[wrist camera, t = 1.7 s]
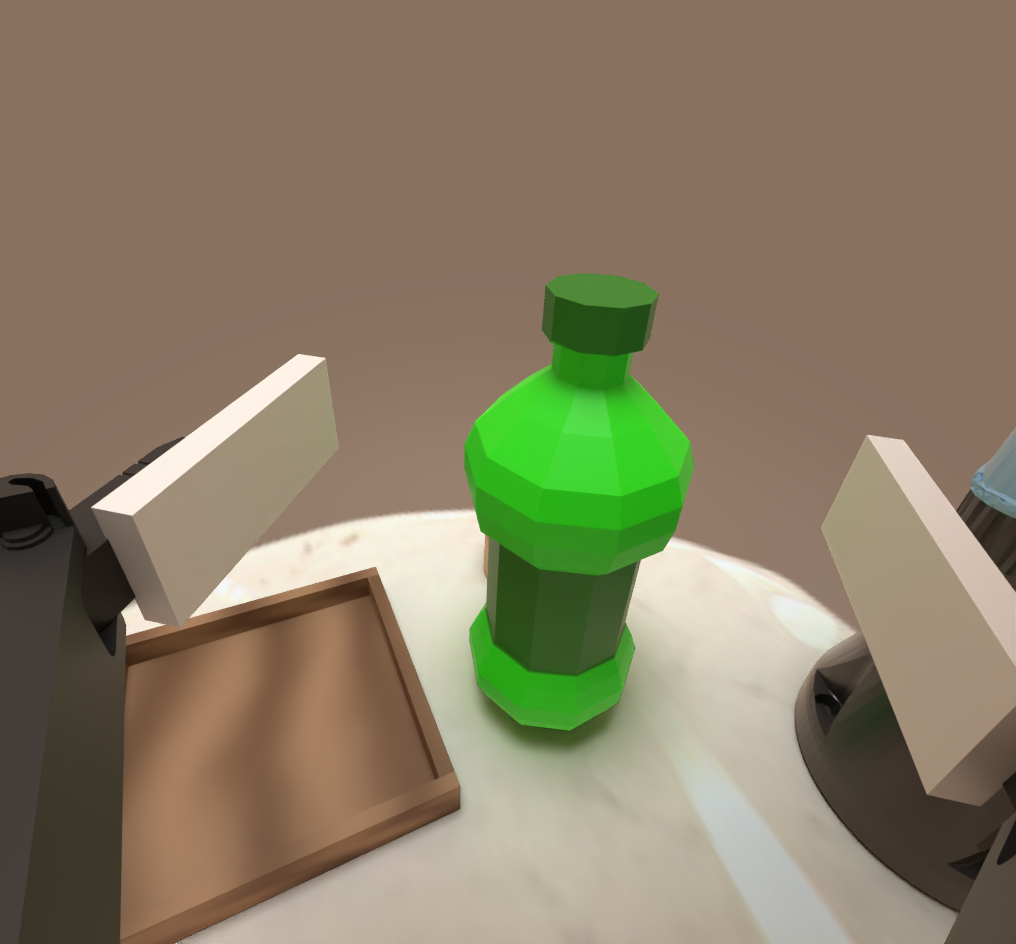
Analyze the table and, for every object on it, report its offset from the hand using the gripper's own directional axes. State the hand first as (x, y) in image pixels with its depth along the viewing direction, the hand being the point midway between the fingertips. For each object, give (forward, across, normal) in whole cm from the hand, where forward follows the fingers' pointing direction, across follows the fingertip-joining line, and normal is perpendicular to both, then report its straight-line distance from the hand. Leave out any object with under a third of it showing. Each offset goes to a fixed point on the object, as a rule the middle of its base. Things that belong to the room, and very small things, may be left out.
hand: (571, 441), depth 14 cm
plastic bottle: (+10, 0, -24) cm, 26 cm away
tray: (+3, -15, -24) cm, 28 cm away
